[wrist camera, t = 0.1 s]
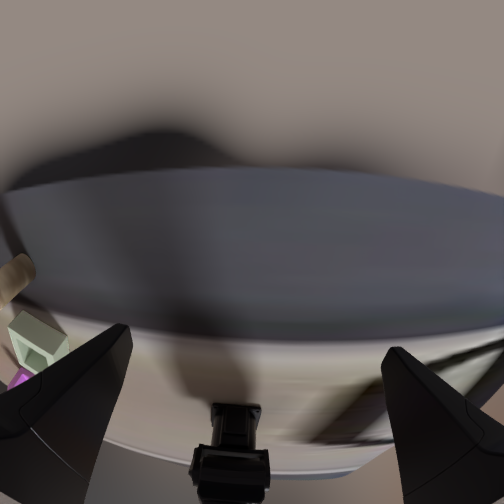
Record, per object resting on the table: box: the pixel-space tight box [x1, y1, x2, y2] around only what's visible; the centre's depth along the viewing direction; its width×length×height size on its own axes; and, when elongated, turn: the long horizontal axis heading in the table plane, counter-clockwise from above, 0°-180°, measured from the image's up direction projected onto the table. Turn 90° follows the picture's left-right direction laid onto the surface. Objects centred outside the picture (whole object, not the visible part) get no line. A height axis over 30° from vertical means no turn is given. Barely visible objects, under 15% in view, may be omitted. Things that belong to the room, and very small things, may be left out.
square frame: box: [8, 310, 69, 375], centre depth 28 cm, size 8×8×4 cm
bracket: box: [7, 367, 35, 390], centre depth 34 cm, size 13×6×7 cm, turn 175°
